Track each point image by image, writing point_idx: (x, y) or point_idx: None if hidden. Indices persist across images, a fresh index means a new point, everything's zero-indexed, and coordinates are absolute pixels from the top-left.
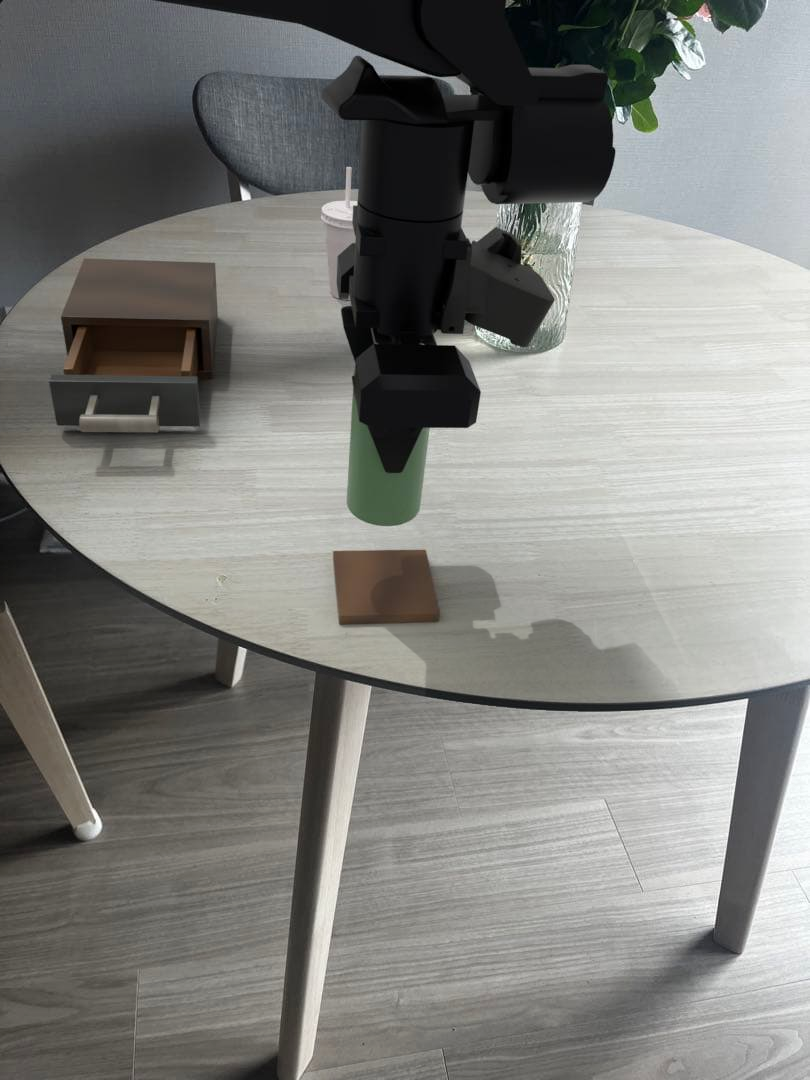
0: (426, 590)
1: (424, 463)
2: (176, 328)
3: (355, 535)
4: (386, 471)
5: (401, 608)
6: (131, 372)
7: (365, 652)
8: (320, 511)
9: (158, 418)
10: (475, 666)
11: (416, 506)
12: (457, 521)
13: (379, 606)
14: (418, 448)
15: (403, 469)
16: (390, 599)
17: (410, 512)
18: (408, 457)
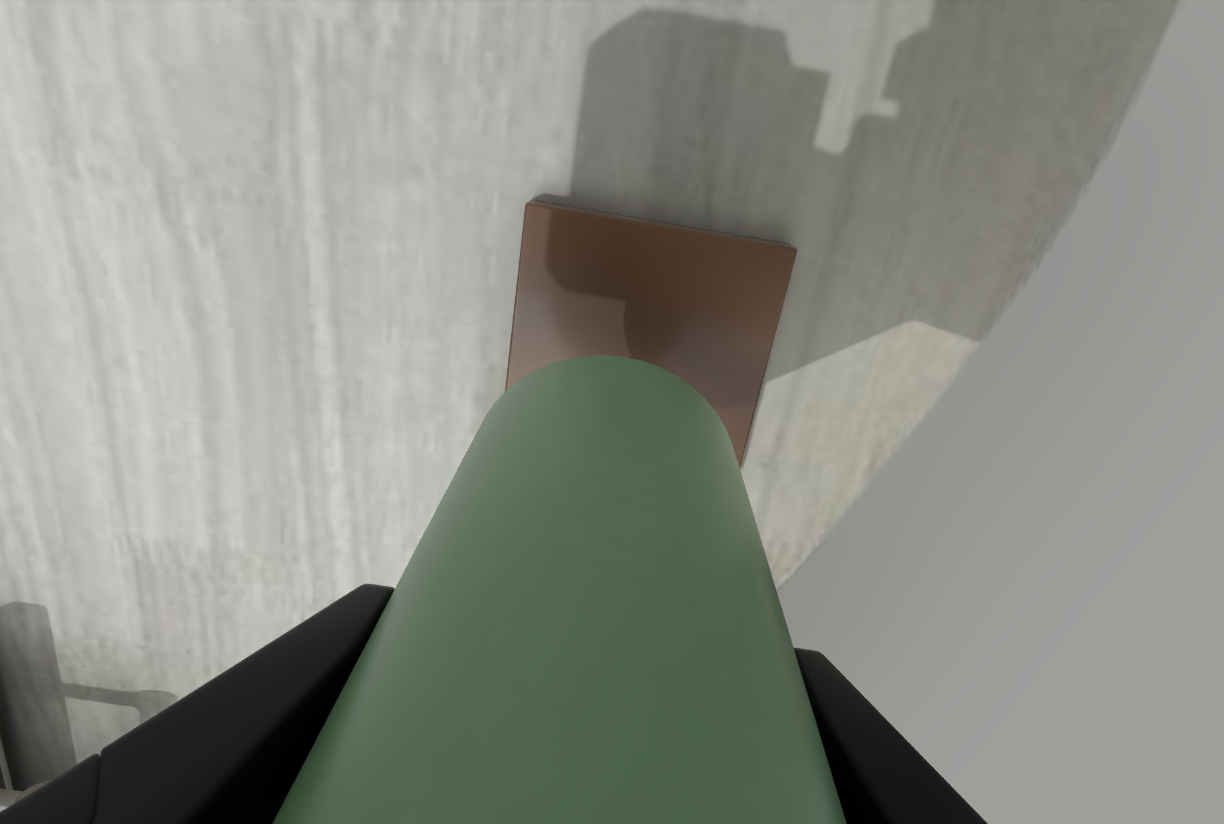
0: (699, 257)
1: (702, 487)
2: None
3: (413, 362)
4: None
5: (749, 343)
6: None
7: (832, 441)
8: (306, 424)
9: (18, 800)
10: (972, 200)
11: (711, 418)
12: (362, 28)
13: (730, 394)
14: (782, 634)
15: (831, 663)
16: (710, 361)
17: (729, 441)
18: (891, 728)
